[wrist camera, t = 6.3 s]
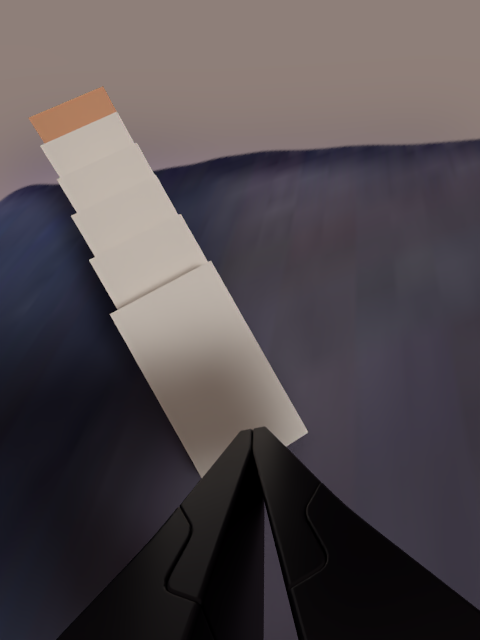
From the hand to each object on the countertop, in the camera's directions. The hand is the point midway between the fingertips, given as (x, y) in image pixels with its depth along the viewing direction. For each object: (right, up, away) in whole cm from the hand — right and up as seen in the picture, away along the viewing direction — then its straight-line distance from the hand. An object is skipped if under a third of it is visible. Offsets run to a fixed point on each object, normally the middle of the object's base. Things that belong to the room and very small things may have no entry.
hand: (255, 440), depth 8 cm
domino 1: (0, -3, +5) cm, 6 cm away
